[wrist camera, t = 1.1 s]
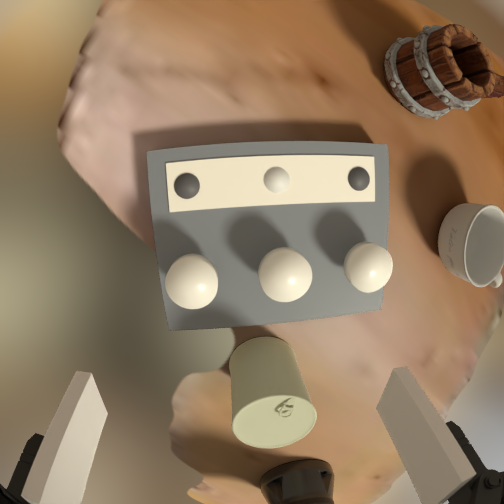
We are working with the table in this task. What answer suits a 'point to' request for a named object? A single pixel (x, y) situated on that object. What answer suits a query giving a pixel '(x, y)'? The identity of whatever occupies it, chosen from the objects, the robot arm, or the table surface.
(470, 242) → the teacup
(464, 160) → the table surface
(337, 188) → the button board
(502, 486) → the robot arm
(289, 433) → the can
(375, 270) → the button
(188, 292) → the button
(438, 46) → the mug
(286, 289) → the button middle
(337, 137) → the table surface
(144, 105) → the table surface
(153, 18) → the table surface
